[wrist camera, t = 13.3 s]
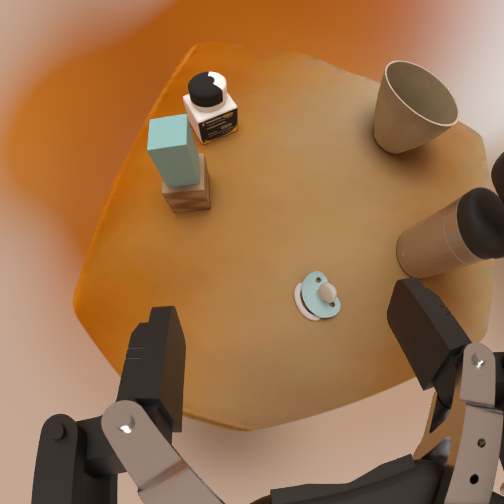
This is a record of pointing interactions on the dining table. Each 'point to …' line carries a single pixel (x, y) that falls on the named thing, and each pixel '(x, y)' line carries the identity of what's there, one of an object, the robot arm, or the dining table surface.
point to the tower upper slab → (189, 187)
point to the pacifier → (317, 297)
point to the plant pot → (411, 107)
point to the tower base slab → (193, 203)
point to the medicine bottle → (210, 107)
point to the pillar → (174, 150)
